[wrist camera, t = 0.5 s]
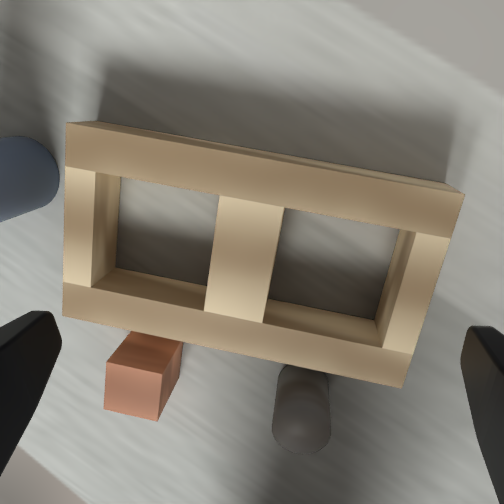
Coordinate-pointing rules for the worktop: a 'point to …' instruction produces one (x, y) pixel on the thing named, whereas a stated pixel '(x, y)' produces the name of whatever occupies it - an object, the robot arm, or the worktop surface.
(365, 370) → the socket board
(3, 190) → the blue-grey cylinder
